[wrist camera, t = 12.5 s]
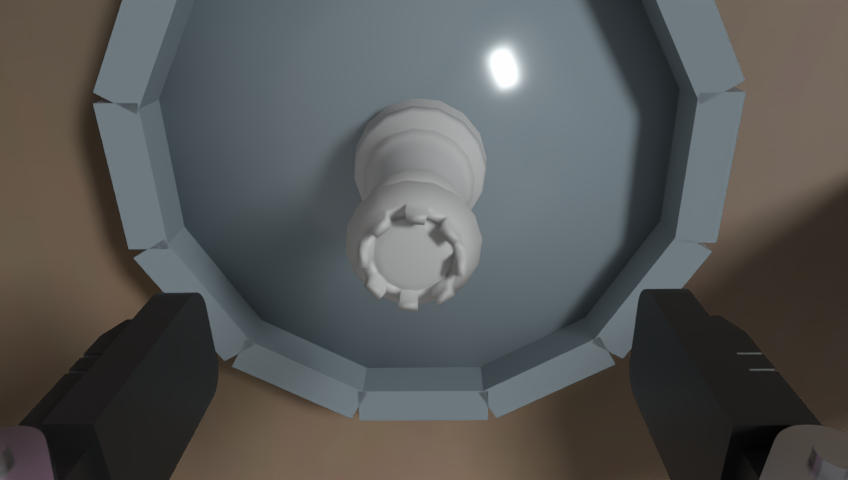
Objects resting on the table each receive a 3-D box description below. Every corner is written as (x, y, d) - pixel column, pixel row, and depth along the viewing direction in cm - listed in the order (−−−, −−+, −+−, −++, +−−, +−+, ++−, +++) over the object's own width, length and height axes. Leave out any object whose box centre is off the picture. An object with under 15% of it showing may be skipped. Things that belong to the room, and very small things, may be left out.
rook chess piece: (374, 78, 20) (337, 141, 12) (503, 117, 20) (541, 201, 13) (343, 200, 22) (294, 319, 14) (462, 234, 22) (475, 366, 15)
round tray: (756, -188, 17) (804, -212, 15) (660, 379, 26) (682, 419, 23) (74, -167, 18) (21, -187, 16) (194, 381, 26) (170, 421, 24)
